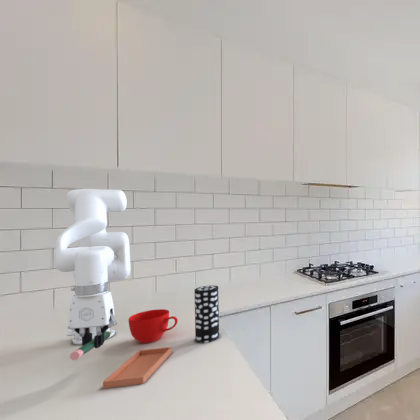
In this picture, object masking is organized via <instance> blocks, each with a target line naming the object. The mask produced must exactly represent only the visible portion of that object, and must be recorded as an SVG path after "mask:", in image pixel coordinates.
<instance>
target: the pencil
mask: <svg viewBox="0 0 420 420" xmlns="http://www.w3.org/2000/svg"><path fill="white" fill-rule="evenodd" d="M110 334H111V331H106V332H104V341H106V340H108V339H110V338H111V337H110ZM109 337H110V338H109ZM107 338H108V339H107ZM93 349H95V342H94V339H92V340H91V341H89V342H88V343H86V344H85V345H83V346H82V345H81V346H80V347H78V348H77V349H75V350H74V351H72V352H71V353H70V354H69V358H70V359H71V360H72V361H76V360H78V359H80V358H81V357H82V356H84V355H86V354H87V353H88V352H90V351H91V350H93Z"/></svg>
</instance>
